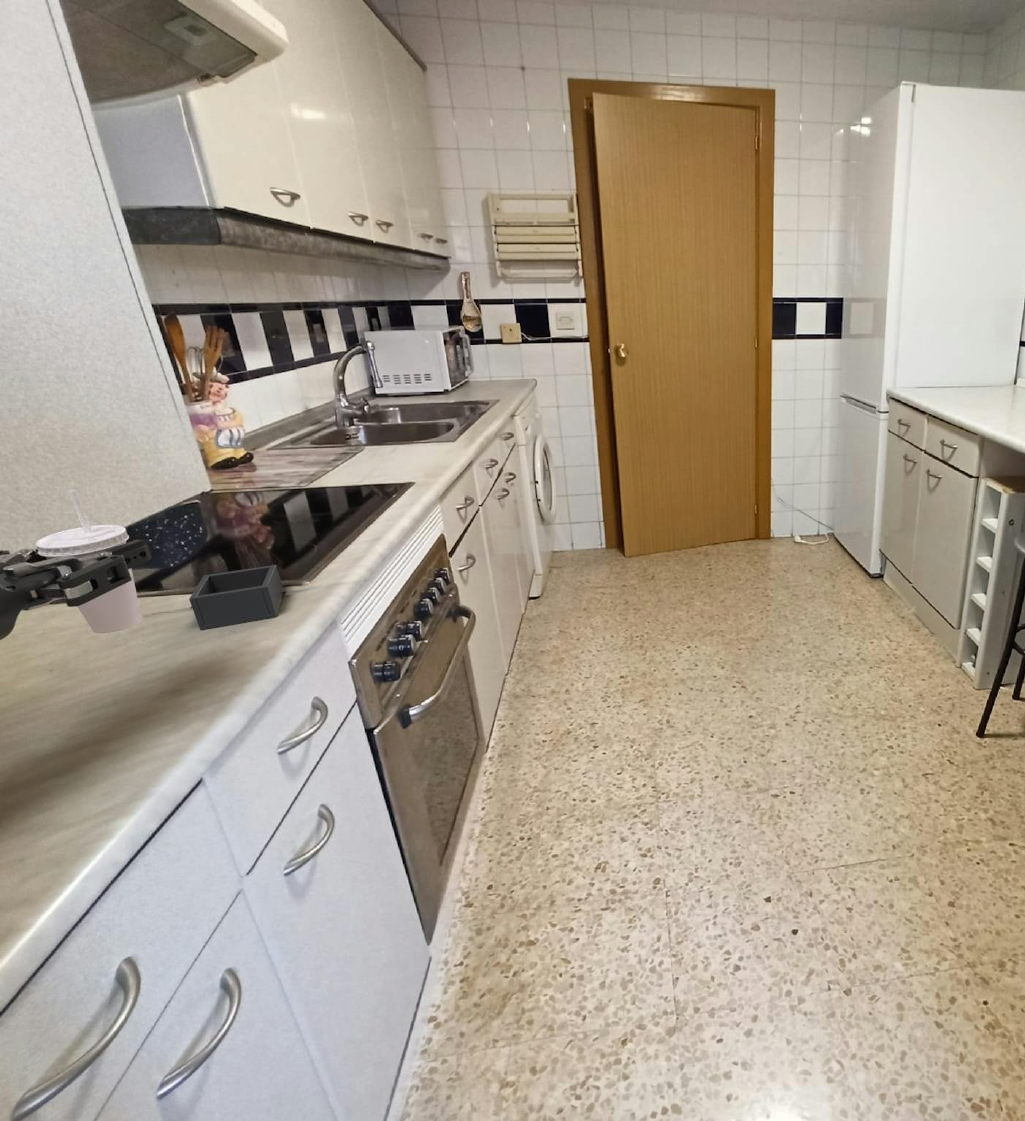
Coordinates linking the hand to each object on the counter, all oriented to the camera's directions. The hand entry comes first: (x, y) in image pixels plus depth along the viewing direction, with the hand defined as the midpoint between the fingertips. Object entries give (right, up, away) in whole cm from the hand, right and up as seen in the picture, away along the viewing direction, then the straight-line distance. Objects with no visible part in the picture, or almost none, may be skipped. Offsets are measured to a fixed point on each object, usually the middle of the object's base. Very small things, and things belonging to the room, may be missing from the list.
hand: (113, 547), depth 65 cm
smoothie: (0, -8, +1) cm, 8 cm away
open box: (-6, -8, +25) cm, 27 cm away
